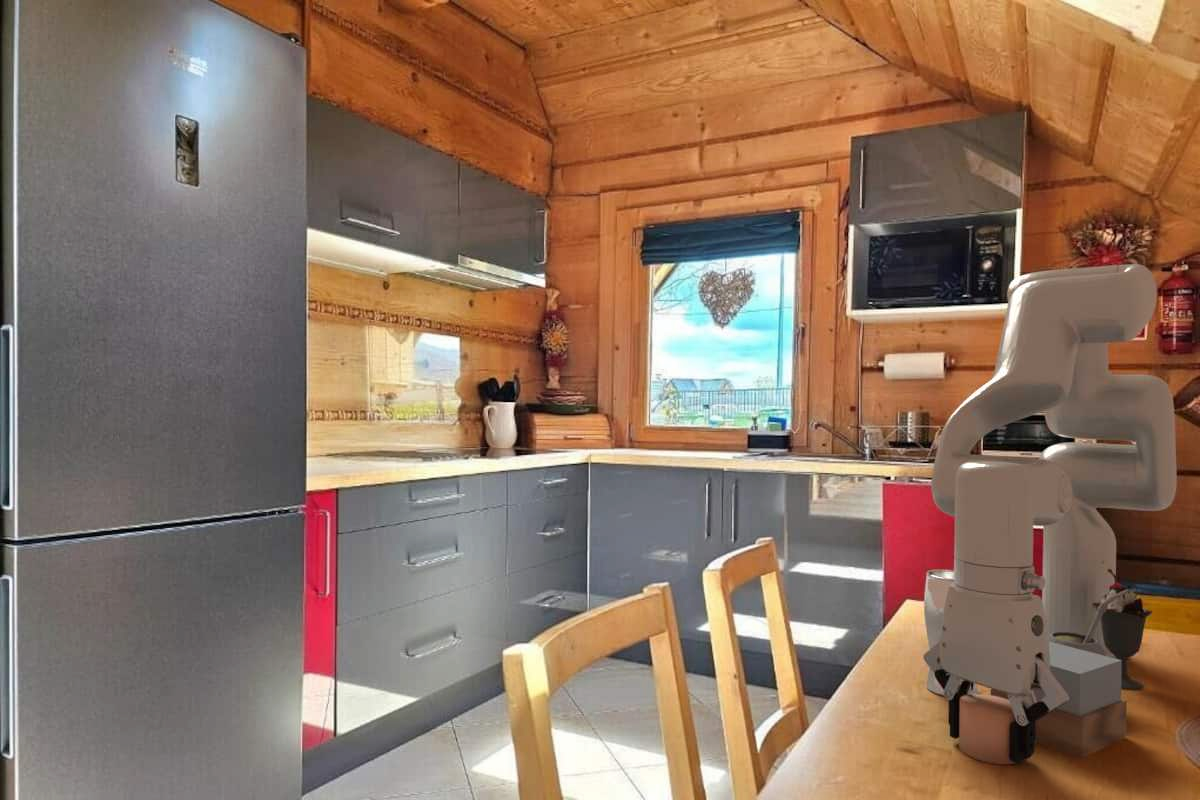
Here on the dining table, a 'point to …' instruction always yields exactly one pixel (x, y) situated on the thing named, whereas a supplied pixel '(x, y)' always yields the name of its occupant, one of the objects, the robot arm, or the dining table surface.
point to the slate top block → (1084, 679)
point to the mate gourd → (1082, 640)
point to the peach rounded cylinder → (985, 728)
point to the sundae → (1123, 628)
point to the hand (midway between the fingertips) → (989, 745)
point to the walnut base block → (1080, 728)
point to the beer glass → (937, 617)
